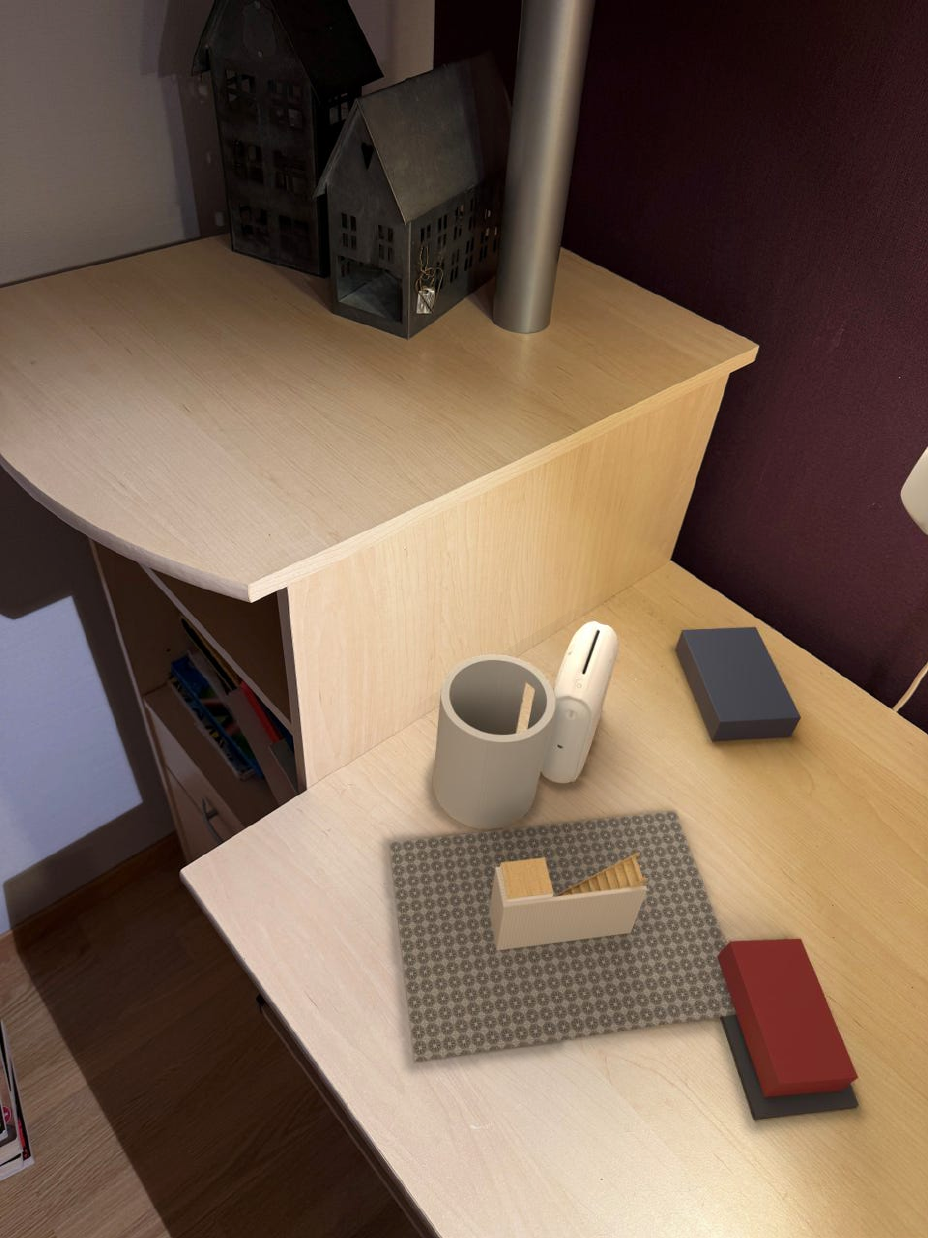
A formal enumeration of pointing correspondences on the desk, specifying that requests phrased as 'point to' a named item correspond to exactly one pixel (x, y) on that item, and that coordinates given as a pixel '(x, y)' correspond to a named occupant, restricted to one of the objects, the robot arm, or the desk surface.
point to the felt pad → (785, 1103)
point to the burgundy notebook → (785, 1018)
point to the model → (554, 934)
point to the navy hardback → (736, 684)
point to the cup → (490, 740)
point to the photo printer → (579, 700)
